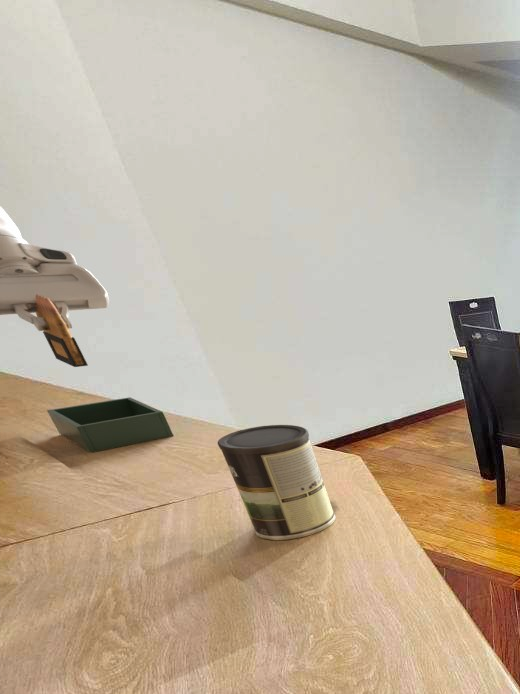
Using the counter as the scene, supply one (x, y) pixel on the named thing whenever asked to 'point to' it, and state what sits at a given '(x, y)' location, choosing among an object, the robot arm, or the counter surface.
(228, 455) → the coffee can
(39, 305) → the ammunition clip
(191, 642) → the counter surface
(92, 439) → the tray
